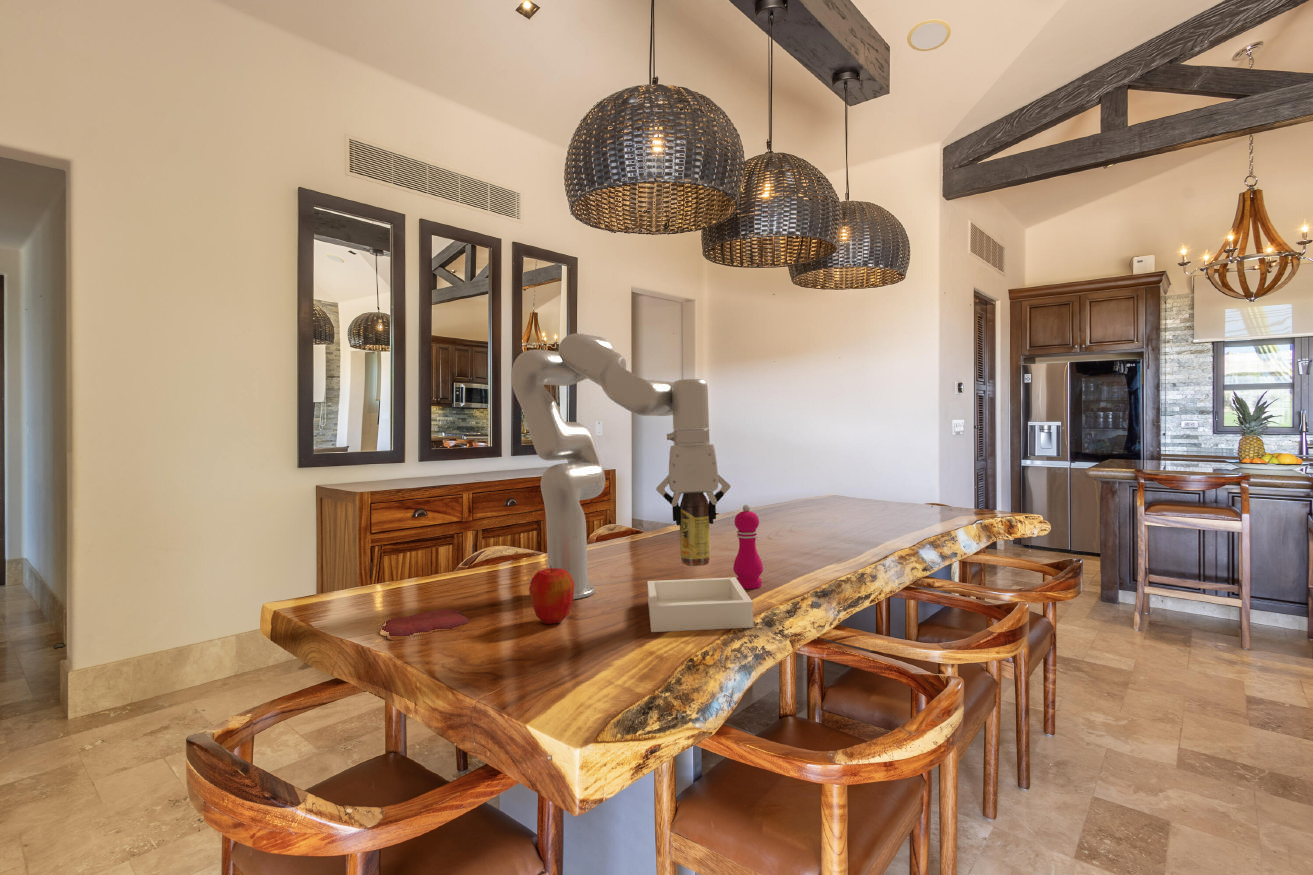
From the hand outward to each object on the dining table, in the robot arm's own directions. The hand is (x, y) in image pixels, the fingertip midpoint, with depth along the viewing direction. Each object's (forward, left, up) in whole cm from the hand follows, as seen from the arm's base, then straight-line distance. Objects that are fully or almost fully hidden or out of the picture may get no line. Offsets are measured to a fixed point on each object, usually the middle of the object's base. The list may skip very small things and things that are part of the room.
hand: (694, 522), depth 130 cm
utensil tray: (0, 0, -19) cm, 19 cm away
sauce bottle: (0, 0, -9) cm, 9 cm away
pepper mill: (+15, +21, -20) cm, 32 cm away
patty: (-57, +1, -20) cm, 61 cm away
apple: (-30, -1, -20) cm, 36 cm away
